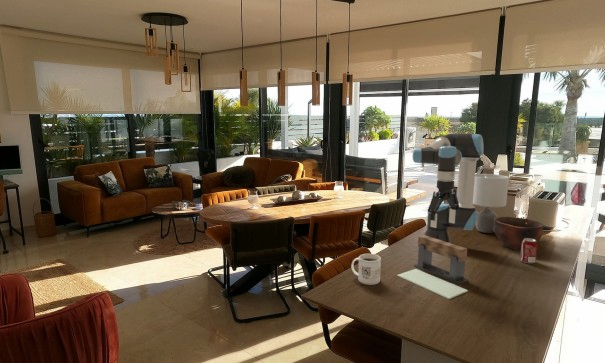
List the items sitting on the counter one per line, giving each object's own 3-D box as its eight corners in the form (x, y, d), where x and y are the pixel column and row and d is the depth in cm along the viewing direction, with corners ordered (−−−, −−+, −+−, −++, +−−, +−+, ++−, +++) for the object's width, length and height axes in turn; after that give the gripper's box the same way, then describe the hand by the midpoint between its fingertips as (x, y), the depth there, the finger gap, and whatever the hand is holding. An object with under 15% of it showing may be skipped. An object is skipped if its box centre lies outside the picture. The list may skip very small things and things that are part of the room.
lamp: (464, 226, 260) (468, 173, 254) (496, 227, 257) (501, 174, 251) (473, 235, 240) (478, 178, 233) (508, 237, 237) (514, 179, 231)
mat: (397, 276, 179) (397, 274, 179) (415, 269, 186) (415, 268, 186) (448, 299, 156) (449, 298, 156) (467, 291, 163) (467, 290, 163)
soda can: (537, 264, 192) (539, 242, 190) (522, 263, 194) (525, 241, 192) (532, 260, 199) (534, 238, 197) (518, 259, 200) (520, 237, 198)
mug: (365, 286, 167) (366, 263, 166) (350, 276, 178) (350, 254, 176) (384, 282, 172) (385, 259, 170) (368, 272, 183) (368, 250, 181)
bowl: (535, 242, 227) (537, 217, 225) (546, 256, 204) (549, 229, 202) (489, 237, 235) (491, 214, 233) (494, 251, 212) (497, 224, 210)
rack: (414, 266, 190) (415, 243, 188) (423, 263, 194) (424, 240, 192) (458, 284, 170) (460, 258, 168) (467, 280, 174) (469, 255, 172)
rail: (417, 246, 189) (418, 236, 188) (423, 245, 191) (423, 234, 190) (461, 262, 170) (462, 250, 169) (466, 260, 172) (467, 248, 171)
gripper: (435, 183, 165) (432, 231, 168) (469, 178, 178) (465, 222, 182) (421, 181, 171) (418, 227, 174) (455, 176, 184) (452, 219, 188)
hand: (442, 225), depth 178 cm, fingers open, 13 cm apart
